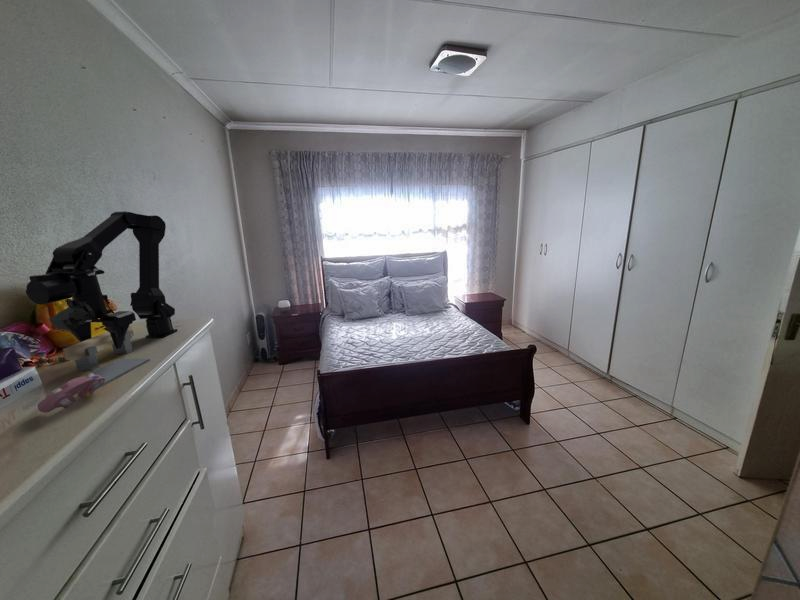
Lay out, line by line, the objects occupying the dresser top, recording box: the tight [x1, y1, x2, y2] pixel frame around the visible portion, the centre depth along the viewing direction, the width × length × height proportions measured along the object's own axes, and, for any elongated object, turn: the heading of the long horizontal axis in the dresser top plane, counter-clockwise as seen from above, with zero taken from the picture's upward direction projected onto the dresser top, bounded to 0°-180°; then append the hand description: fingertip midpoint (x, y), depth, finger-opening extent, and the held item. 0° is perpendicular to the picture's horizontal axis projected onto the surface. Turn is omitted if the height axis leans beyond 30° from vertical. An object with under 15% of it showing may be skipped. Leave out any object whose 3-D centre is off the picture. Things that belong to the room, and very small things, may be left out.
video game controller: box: [37, 372, 105, 414], centre depth 66 cm, size 10×5×7 cm
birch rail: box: [62, 325, 135, 361], centre depth 86 cm, size 16×3×3 cm, turn 175°
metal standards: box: [74, 332, 134, 371], centre depth 87 cm, size 12×6×6 cm, turn 175°
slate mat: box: [58, 357, 151, 389], centre depth 79 cm, size 16×9×1 cm, turn 175°
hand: (103, 348), depth 87 cm, fingers open, 9 cm apart
